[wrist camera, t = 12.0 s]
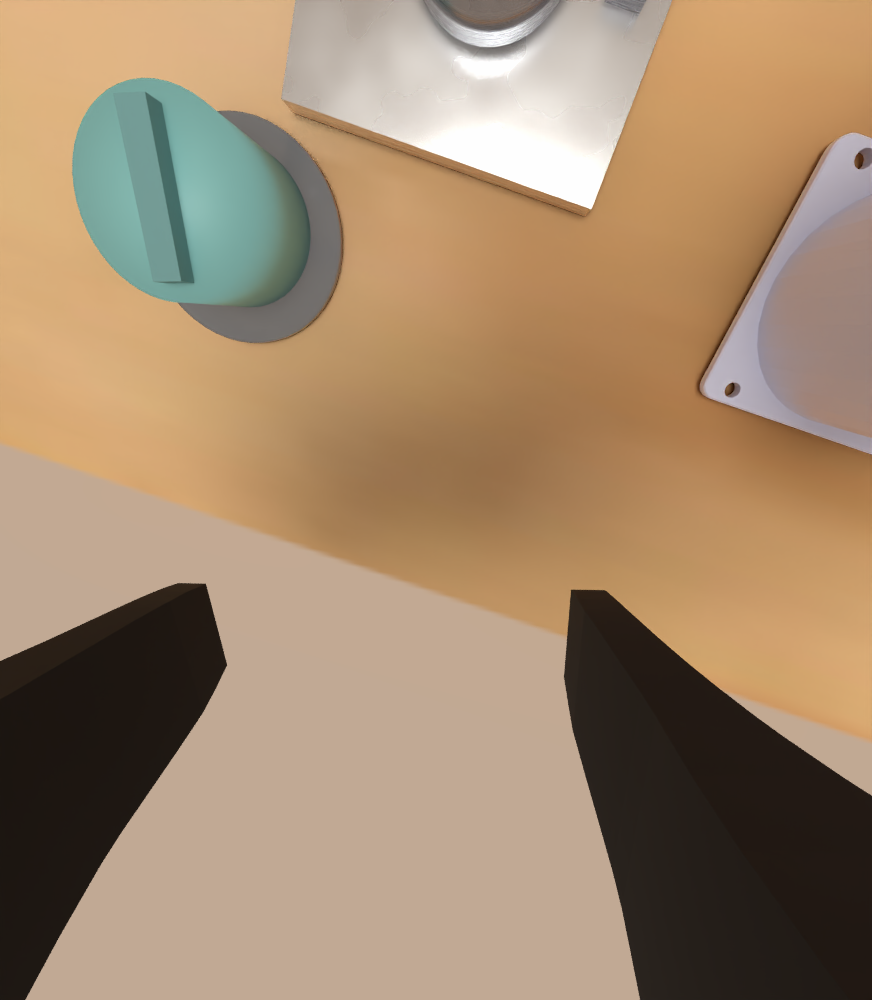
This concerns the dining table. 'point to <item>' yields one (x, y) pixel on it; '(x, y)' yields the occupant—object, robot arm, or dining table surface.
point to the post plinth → (479, 83)
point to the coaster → (322, 258)
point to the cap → (187, 199)
